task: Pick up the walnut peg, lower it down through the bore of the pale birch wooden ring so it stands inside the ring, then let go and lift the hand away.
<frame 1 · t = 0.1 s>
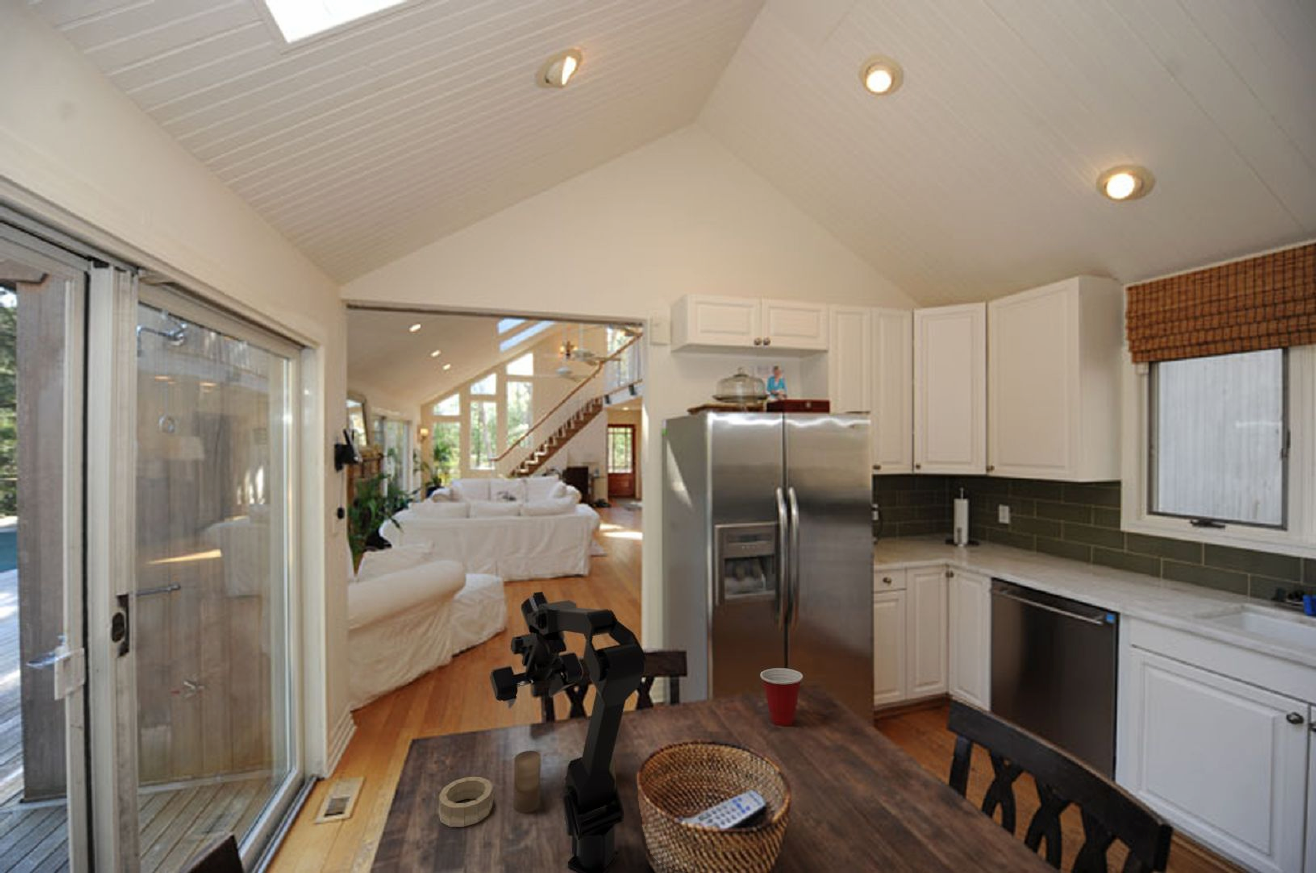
hand: (530, 700, 119), 15 cm above the table, tool tilted 30°, fingers open, 9 cm apart
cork: (601, 780, 115), on the table
plastic cup: (781, 721, 142), on the table
wooden ring: (465, 810, 105), on the table
walnut peg: (526, 804, 107), on the table
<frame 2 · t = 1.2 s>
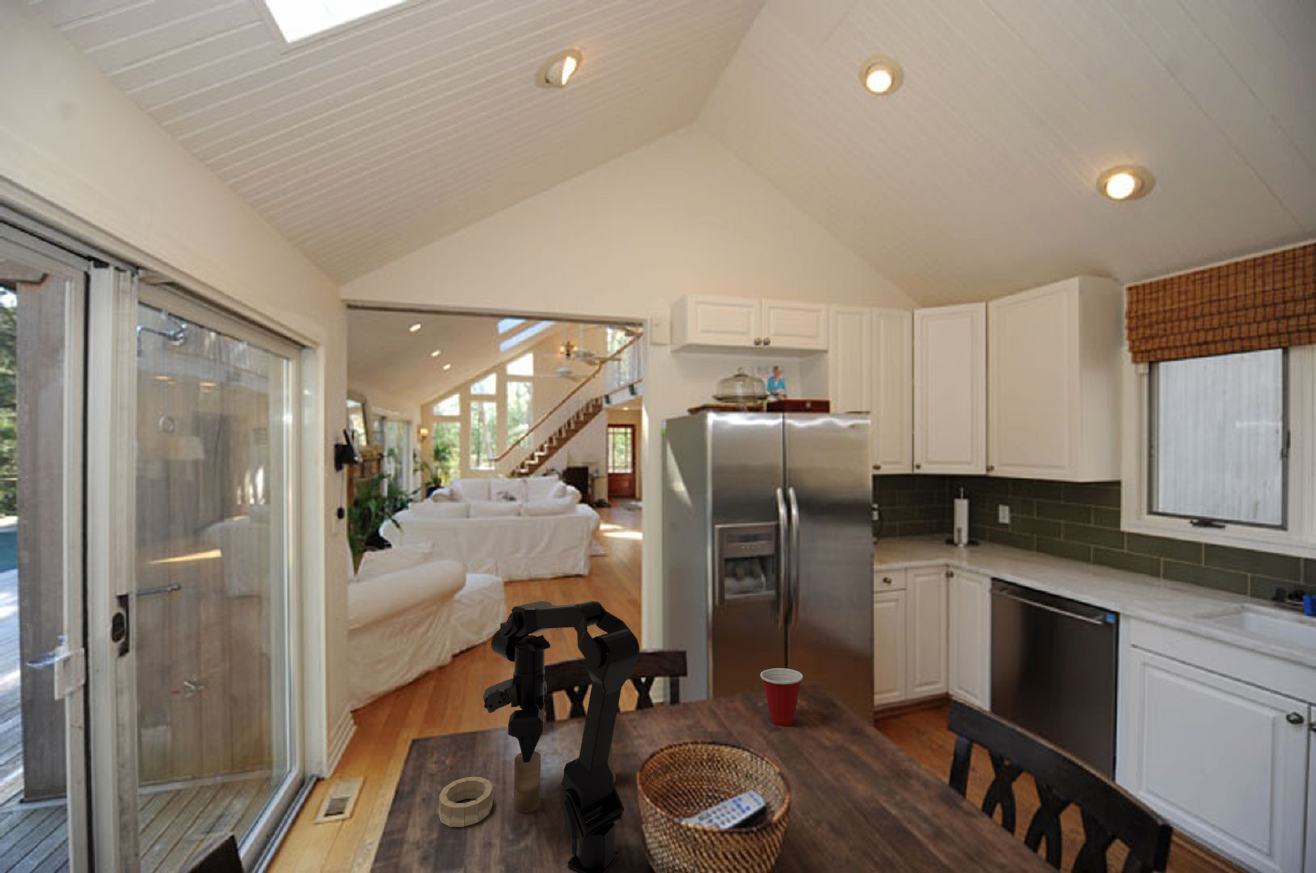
hand: (528, 748, 107), 11 cm above the table, tool pointing down, fingers open, 9 cm apart
nothing on the table moved.
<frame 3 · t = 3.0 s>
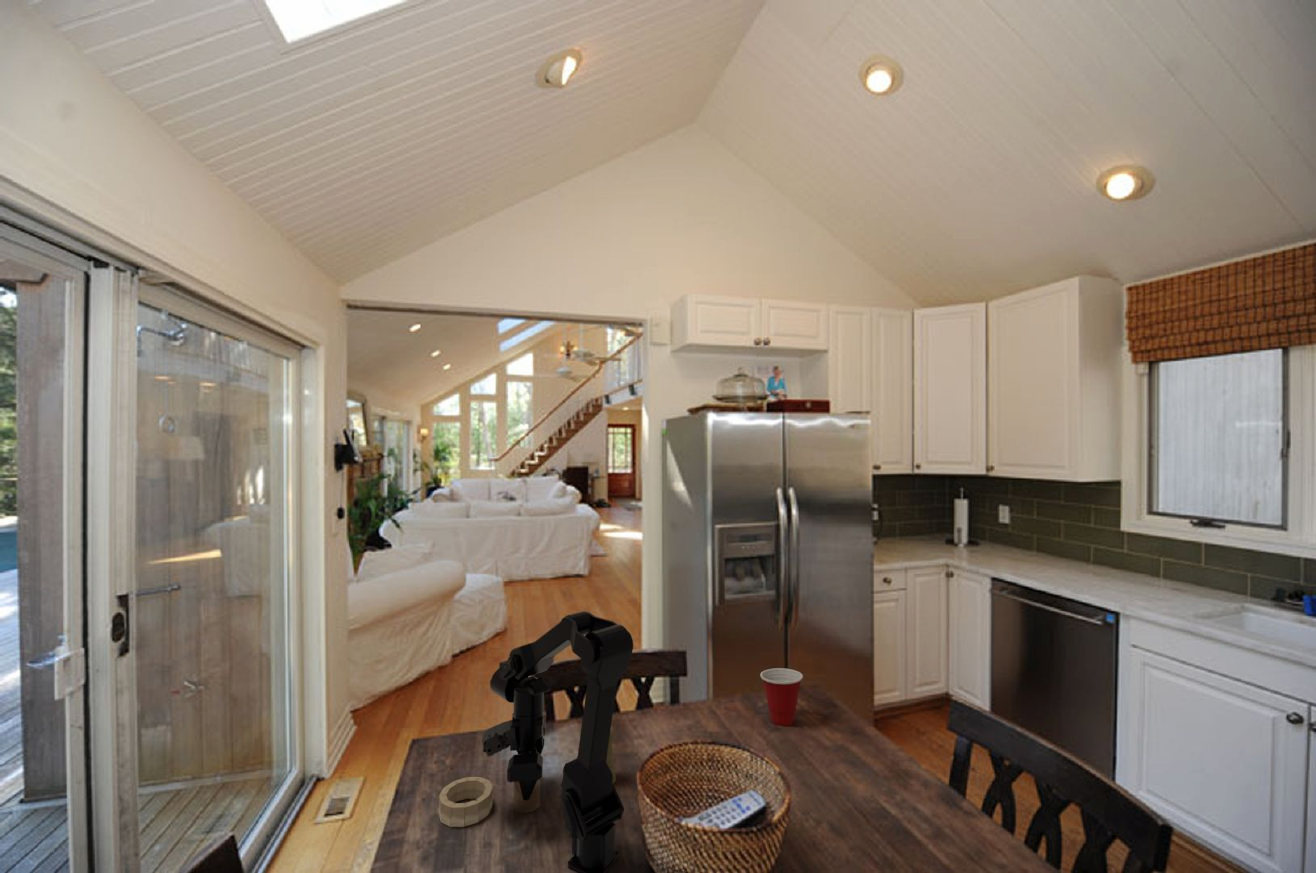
hand: (527, 791, 107), 3 cm above the table, tool pointing down, fingers closed on walnut peg, 5 cm apart
walnut peg: (526, 804, 107), on the table, touching gripper
everything else where it was.
when the fingers open (4 cm above the table, at t = 8.8 s): walnut peg drops 2 cm, resting in wooden ring.
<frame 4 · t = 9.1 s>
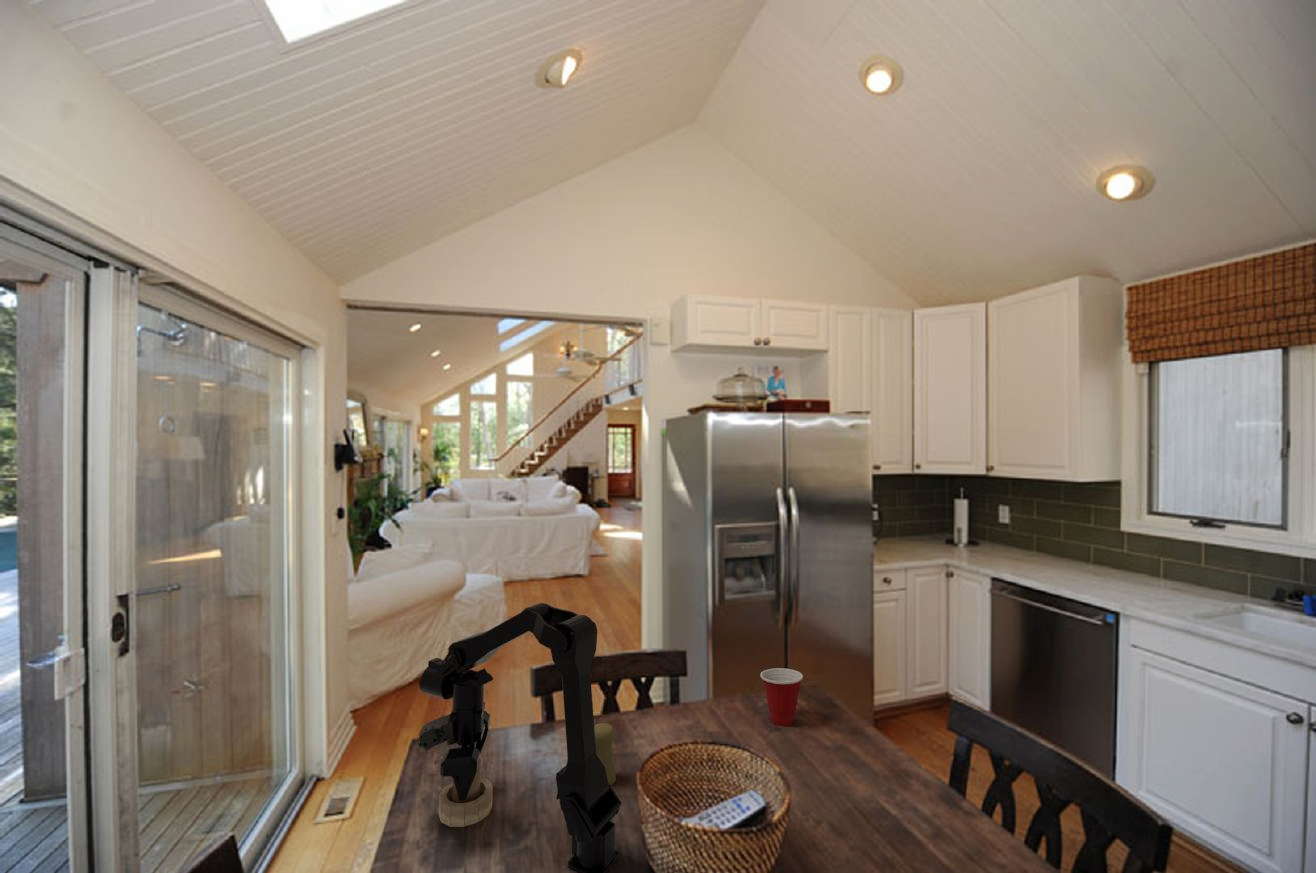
hand: (466, 786, 105), 4 cm above the table, tool pointing down, fingers open, 8 cm apart
walnut peg: (466, 810, 105), resting in wooden ring
everything else where it was.
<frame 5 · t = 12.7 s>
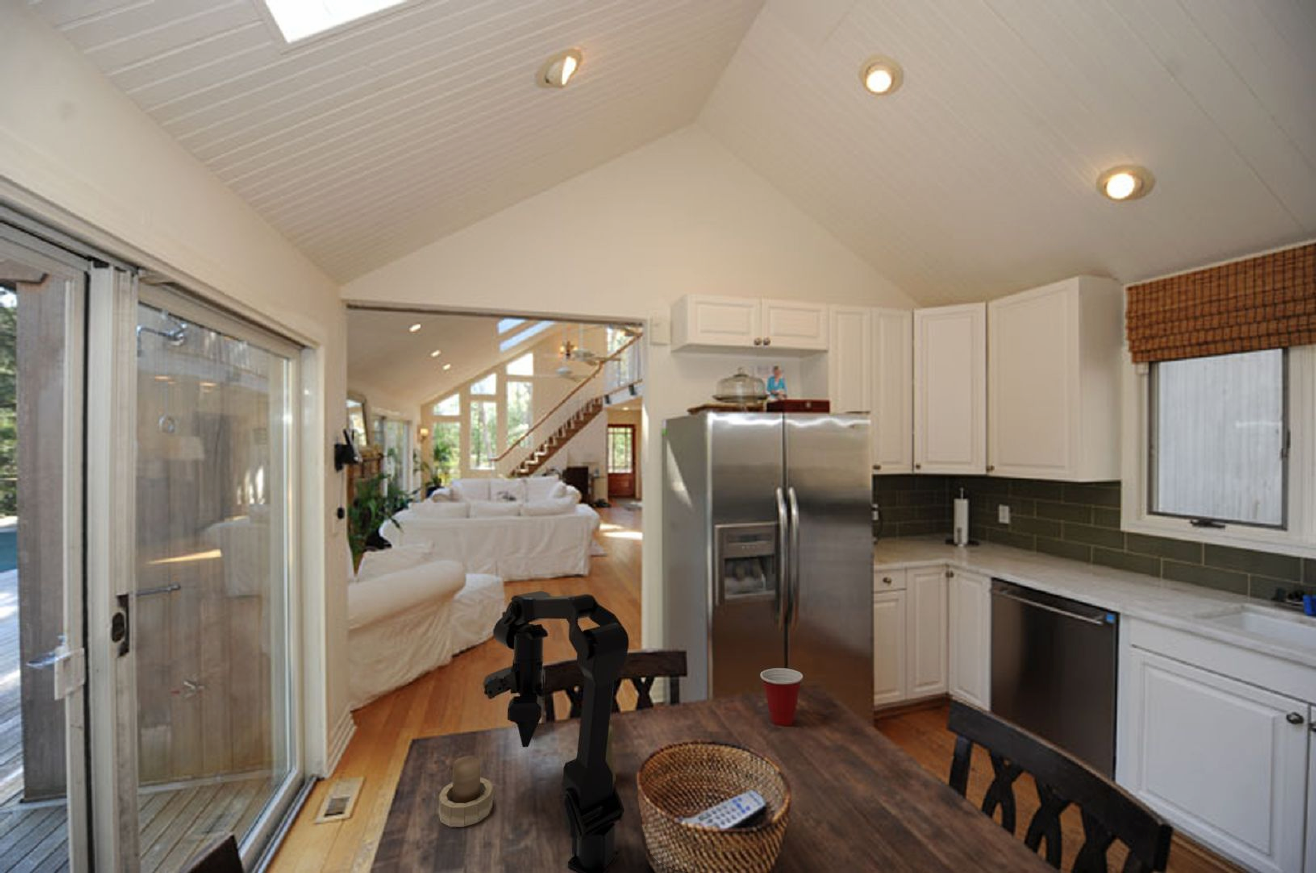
hand: (527, 734, 110), 12 cm above the table, tool pointing down, fingers open, 9 cm apart
nothing on the table moved.
at the end: walnut peg 0.0 cm off-centre on the wooden ring, point 0.0 cm above the wooden ring's base; walnut peg tilted 0°; the gripper is holding nothing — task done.
